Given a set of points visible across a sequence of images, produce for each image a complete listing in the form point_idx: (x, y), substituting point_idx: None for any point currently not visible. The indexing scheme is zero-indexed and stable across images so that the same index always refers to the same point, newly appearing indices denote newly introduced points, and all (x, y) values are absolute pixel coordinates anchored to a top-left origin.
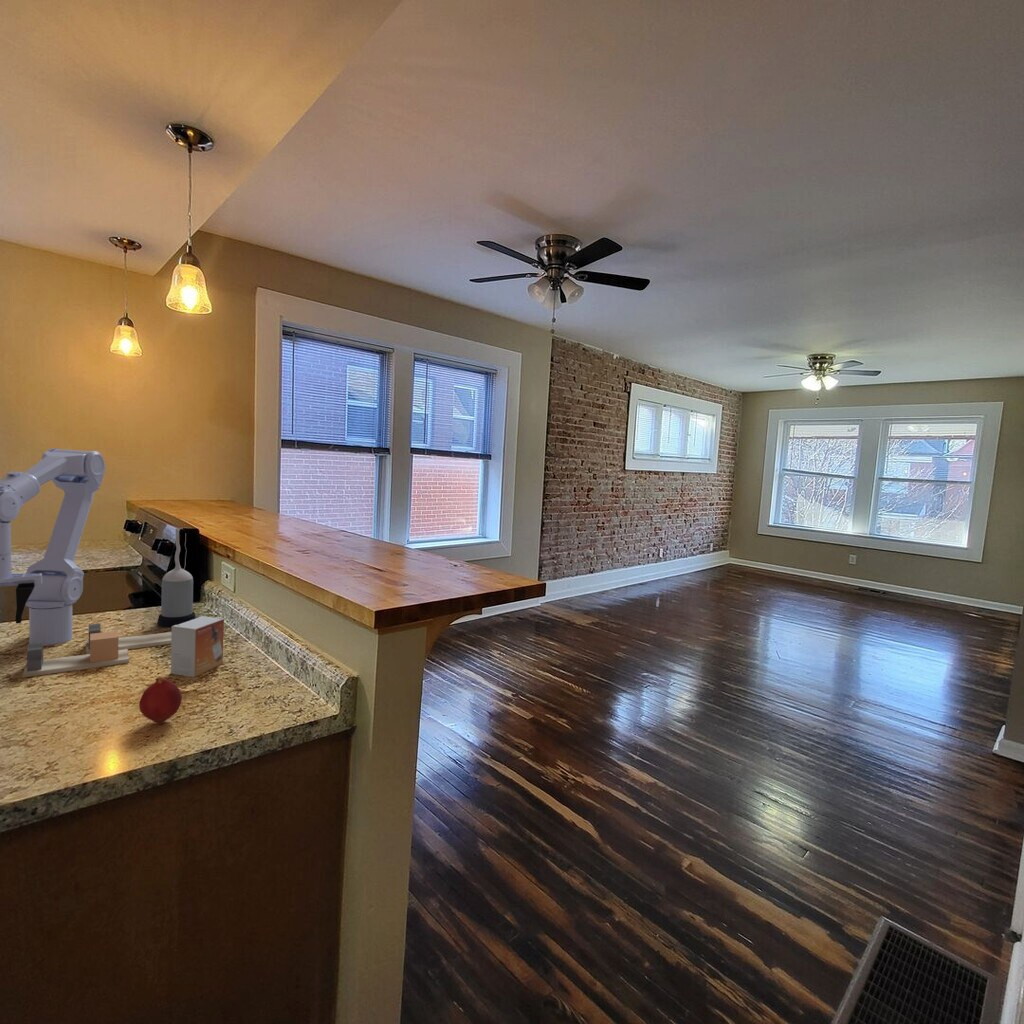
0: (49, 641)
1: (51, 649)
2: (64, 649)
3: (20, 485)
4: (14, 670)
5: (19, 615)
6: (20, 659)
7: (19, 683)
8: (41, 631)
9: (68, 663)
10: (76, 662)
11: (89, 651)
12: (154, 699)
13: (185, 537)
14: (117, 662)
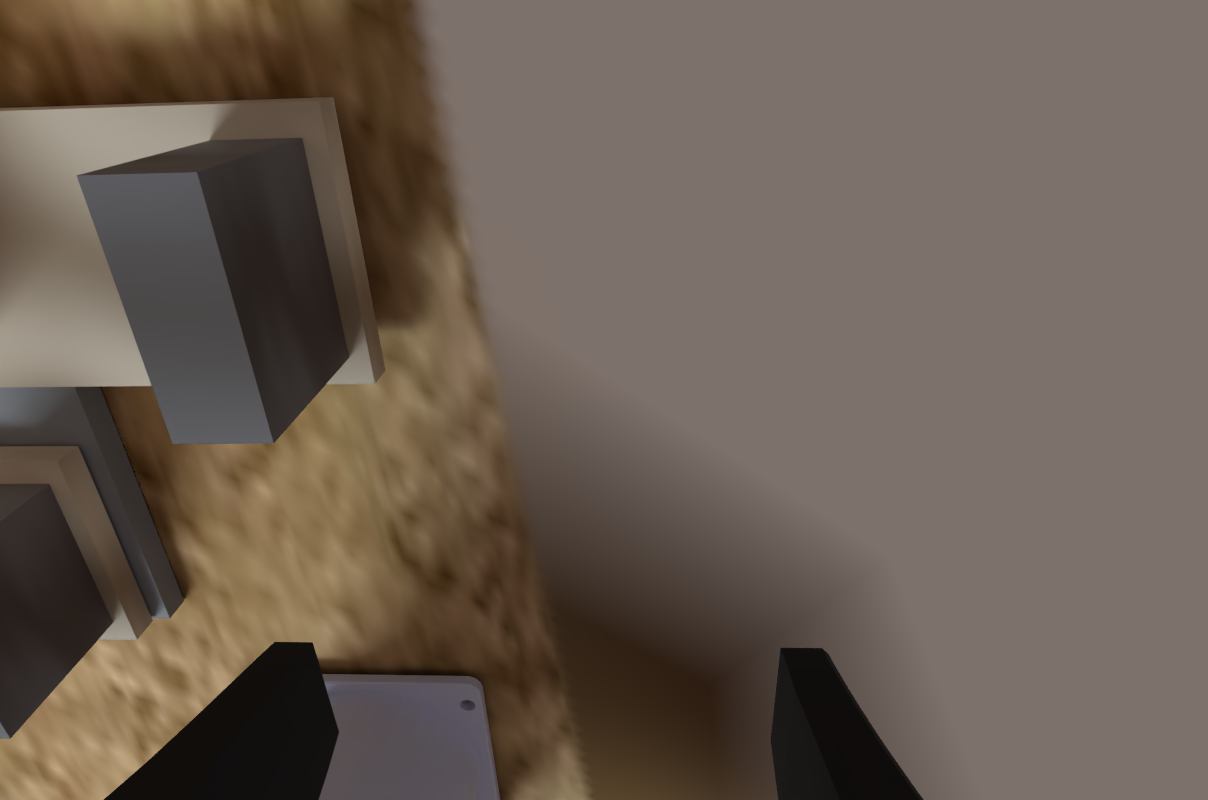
0: (355, 718)
1: (361, 668)
2: None
3: None
4: (468, 389)
5: (213, 715)
6: (481, 572)
7: (368, 78)
8: (373, 793)
9: (54, 210)
10: (4, 214)
11: (39, 457)
12: None
13: None
14: None
